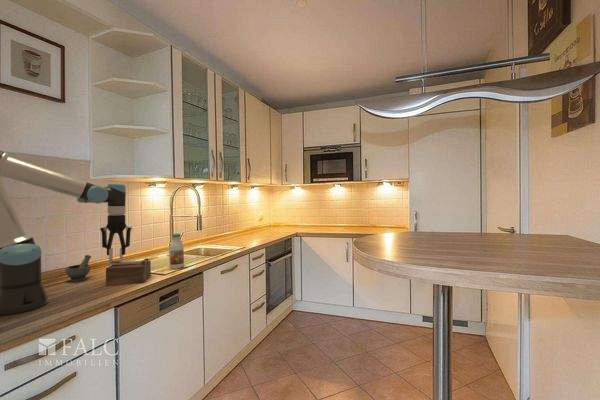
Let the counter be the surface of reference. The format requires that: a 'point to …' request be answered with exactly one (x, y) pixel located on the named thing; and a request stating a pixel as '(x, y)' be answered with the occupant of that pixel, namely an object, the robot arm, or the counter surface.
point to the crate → (128, 273)
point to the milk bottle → (176, 252)
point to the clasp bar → (125, 262)
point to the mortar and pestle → (79, 270)
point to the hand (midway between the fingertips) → (116, 261)
